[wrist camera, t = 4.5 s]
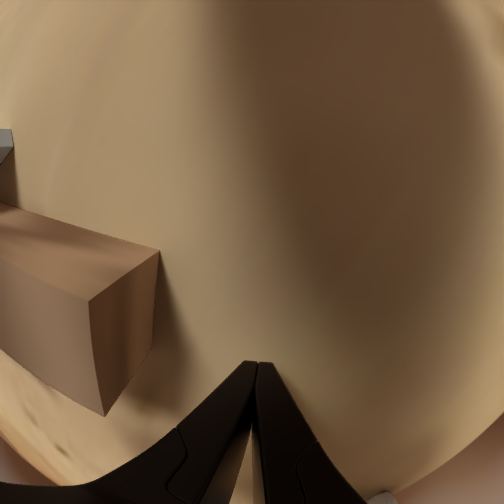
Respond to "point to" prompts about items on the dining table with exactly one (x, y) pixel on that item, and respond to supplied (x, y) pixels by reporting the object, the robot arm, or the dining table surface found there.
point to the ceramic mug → (382, 499)
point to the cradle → (5, 143)
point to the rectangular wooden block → (75, 305)
